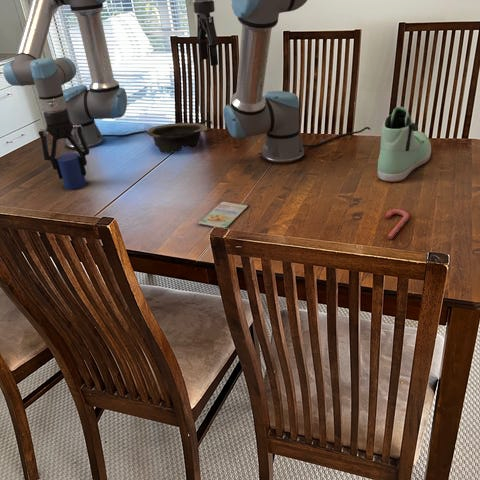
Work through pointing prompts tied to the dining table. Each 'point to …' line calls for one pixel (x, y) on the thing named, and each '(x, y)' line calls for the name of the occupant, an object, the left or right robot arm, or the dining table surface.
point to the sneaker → (401, 146)
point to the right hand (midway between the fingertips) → (209, 62)
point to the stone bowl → (176, 136)
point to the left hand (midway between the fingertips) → (73, 175)
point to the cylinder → (71, 171)
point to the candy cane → (399, 221)
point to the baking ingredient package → (223, 214)
